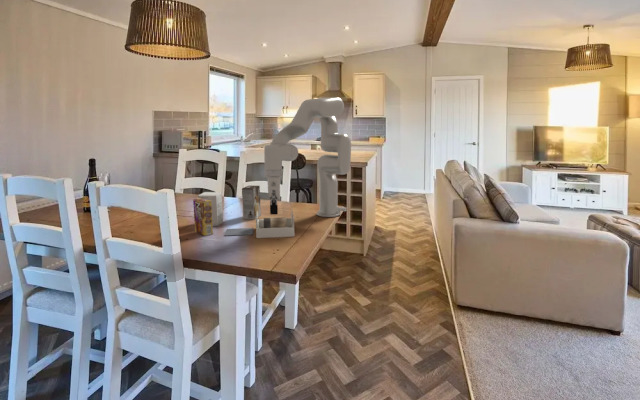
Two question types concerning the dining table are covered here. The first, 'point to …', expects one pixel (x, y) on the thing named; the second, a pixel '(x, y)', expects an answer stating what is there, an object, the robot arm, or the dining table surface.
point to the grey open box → (274, 229)
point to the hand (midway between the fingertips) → (273, 211)
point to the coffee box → (251, 202)
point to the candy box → (203, 216)
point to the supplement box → (214, 206)
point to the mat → (239, 232)
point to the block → (275, 222)
